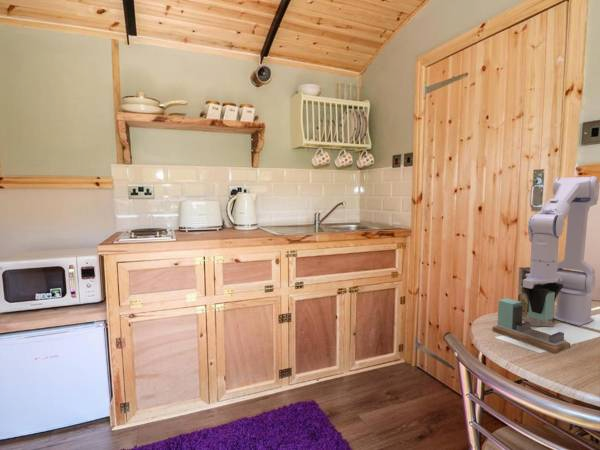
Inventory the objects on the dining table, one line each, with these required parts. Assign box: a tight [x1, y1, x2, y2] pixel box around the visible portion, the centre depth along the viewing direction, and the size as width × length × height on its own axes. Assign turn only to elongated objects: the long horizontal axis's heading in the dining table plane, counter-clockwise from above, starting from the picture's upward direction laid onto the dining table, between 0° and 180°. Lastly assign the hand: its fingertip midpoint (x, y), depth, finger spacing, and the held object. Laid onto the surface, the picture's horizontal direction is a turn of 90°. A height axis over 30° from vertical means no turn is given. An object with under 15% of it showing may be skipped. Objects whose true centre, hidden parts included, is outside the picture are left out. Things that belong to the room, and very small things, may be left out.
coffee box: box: [517, 266, 556, 328], centre depth 104 cm, size 9×6×16 cm
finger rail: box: [492, 297, 571, 354], centre depth 92 cm, size 7×16×9 cm, turn 27°
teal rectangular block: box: [527, 291, 556, 321], centre depth 89 cm, size 5×4×7 cm
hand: (541, 311), depth 89 cm, fingers closed on teal rectangular block, 4 cm apart
